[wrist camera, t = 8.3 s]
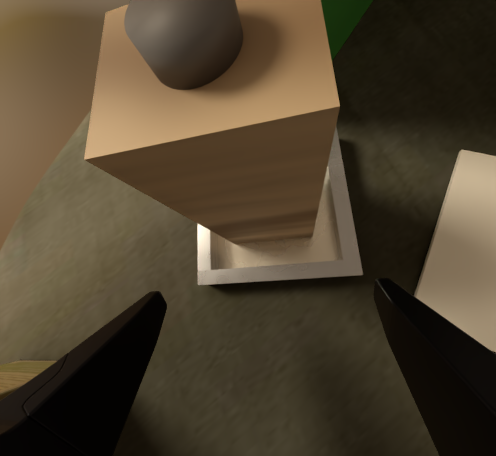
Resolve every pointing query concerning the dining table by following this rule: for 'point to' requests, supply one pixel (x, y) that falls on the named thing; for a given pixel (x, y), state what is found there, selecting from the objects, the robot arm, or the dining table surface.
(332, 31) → the hardback book
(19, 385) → the food packaging
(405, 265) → the dining table surface
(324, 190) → the pocket
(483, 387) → the robot arm
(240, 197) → the block
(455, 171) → the beige flat slab
